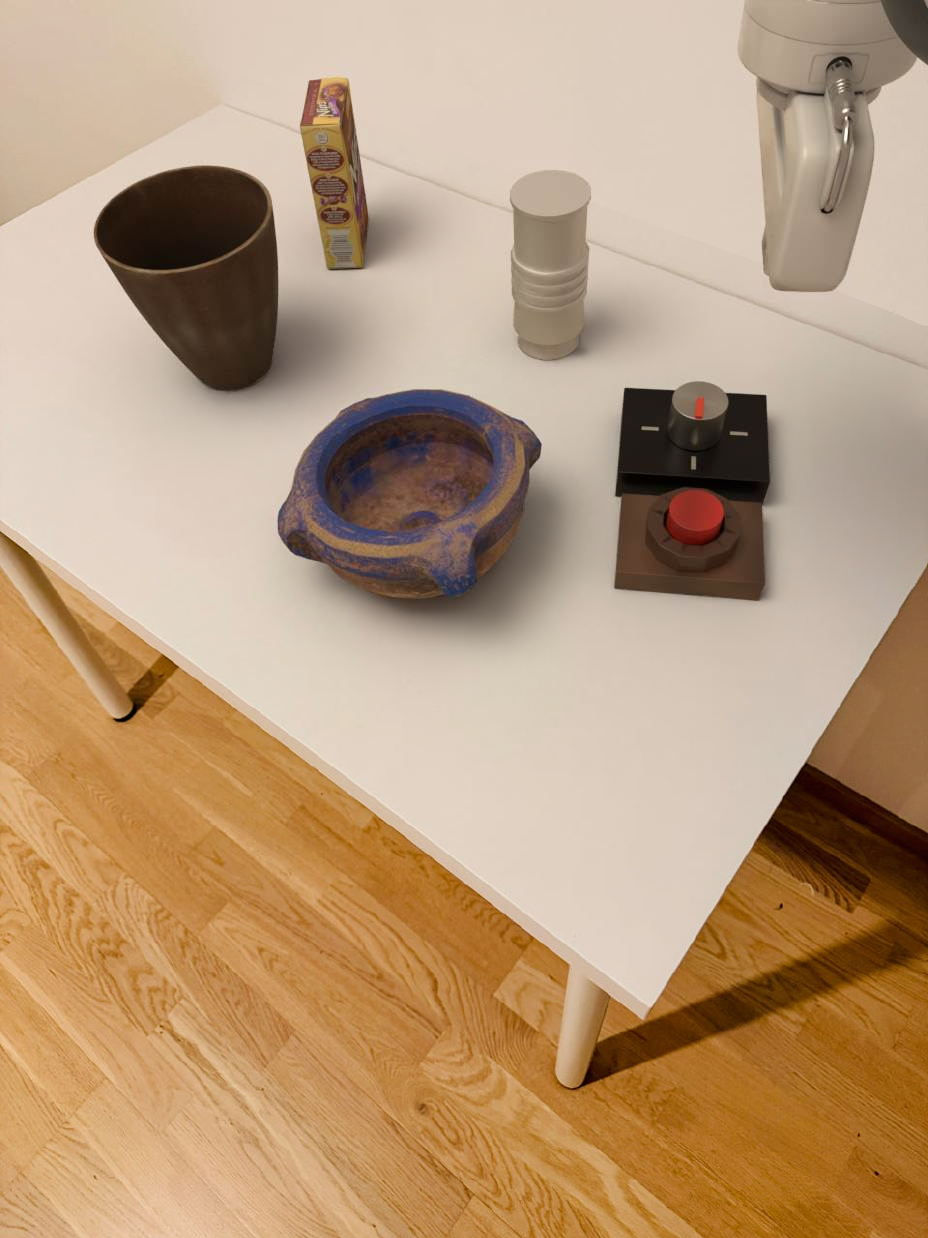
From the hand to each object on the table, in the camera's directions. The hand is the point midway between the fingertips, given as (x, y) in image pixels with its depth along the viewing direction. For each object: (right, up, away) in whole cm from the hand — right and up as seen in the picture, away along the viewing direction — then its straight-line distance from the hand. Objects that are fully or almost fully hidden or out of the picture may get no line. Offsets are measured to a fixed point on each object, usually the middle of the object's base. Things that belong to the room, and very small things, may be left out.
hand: (775, 261), depth 56 cm
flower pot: (-42, +2, +32) cm, 53 cm away
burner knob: (0, -7, +19) cm, 20 cm away
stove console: (0, -8, +21) cm, 23 cm away
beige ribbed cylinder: (-11, +5, +31) cm, 34 cm away
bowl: (-23, -16, +18) cm, 33 cm away
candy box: (-32, +18, +42) cm, 56 cm away
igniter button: (-2, -15, +13) cm, 20 cm away
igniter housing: (-2, -17, +16) cm, 23 cm away
